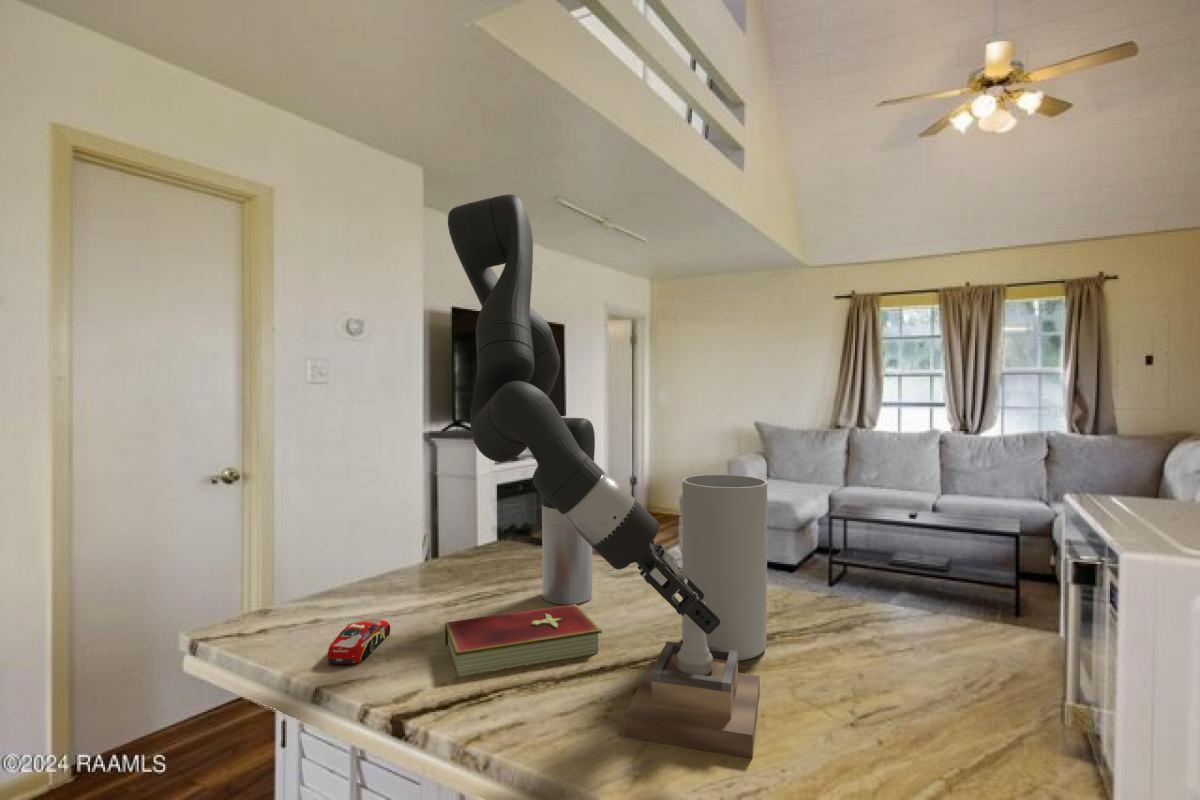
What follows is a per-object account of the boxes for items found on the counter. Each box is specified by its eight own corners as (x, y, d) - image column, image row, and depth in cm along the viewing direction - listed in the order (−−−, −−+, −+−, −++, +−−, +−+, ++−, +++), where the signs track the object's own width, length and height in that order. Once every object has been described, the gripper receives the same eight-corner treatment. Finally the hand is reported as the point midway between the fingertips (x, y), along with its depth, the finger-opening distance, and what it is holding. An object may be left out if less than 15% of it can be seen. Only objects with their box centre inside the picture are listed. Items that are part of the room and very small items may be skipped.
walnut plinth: (651, 679, 84) (651, 631, 84) (759, 694, 80) (759, 644, 79) (624, 736, 70) (624, 679, 70) (752, 758, 66) (752, 697, 66)
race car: (363, 631, 101) (362, 607, 101) (395, 632, 101) (395, 608, 100) (319, 668, 88) (319, 640, 88) (357, 670, 87) (356, 641, 87)
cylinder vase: (772, 636, 98) (773, 477, 97) (757, 670, 86) (758, 490, 86) (695, 623, 103) (695, 472, 102) (671, 653, 92) (671, 484, 91)
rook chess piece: (713, 679, 72) (714, 611, 72) (675, 676, 73) (675, 608, 73) (713, 662, 77) (714, 597, 76) (677, 659, 77) (677, 595, 77)
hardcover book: (445, 646, 96) (444, 619, 95) (575, 627, 103) (575, 601, 103) (456, 681, 84) (456, 650, 84) (601, 656, 92) (601, 628, 92)
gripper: (639, 509, 67) (745, 613, 68) (627, 486, 81) (714, 573, 82) (590, 559, 67) (696, 663, 68) (586, 528, 81) (674, 613, 82)
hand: (706, 613), depth 75 cm, fingers open, 8 cm apart
